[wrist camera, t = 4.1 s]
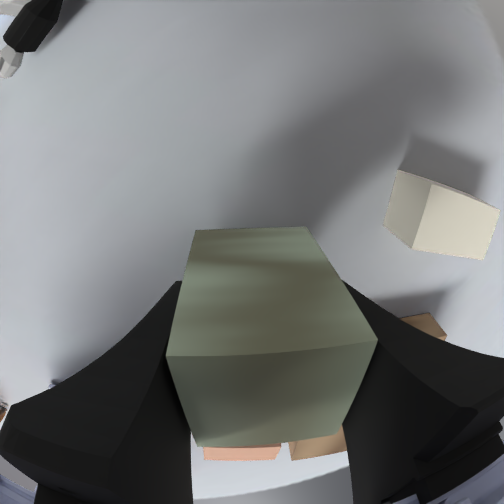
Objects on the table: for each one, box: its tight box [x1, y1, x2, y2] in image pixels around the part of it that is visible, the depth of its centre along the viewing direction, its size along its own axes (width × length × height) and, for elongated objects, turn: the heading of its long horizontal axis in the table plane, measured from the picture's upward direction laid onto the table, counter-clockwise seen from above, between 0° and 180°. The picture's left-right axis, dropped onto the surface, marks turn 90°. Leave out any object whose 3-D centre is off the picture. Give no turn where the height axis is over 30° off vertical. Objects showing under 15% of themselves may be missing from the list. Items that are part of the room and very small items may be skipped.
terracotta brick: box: [203, 443, 281, 461], centre depth 20 cm, size 6×3×3 cm, turn 84°
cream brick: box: [383, 169, 501, 260], centre depth 12 cm, size 6×3×3 cm, turn 81°
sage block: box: [166, 227, 378, 447], centre depth 8 cm, size 4×4×6 cm
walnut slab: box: [288, 313, 447, 461], centre depth 19 cm, size 9×15×2 cm, turn 0°
